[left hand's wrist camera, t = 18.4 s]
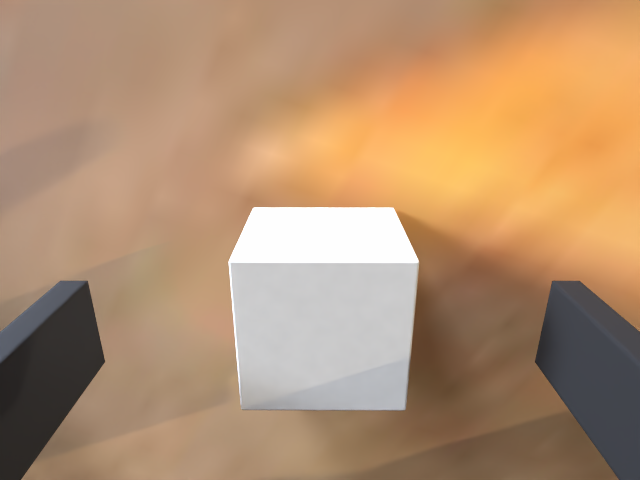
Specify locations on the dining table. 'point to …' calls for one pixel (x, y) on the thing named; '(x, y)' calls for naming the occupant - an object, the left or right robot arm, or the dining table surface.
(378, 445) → the dining table surface
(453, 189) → the dining table surface
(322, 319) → the block
